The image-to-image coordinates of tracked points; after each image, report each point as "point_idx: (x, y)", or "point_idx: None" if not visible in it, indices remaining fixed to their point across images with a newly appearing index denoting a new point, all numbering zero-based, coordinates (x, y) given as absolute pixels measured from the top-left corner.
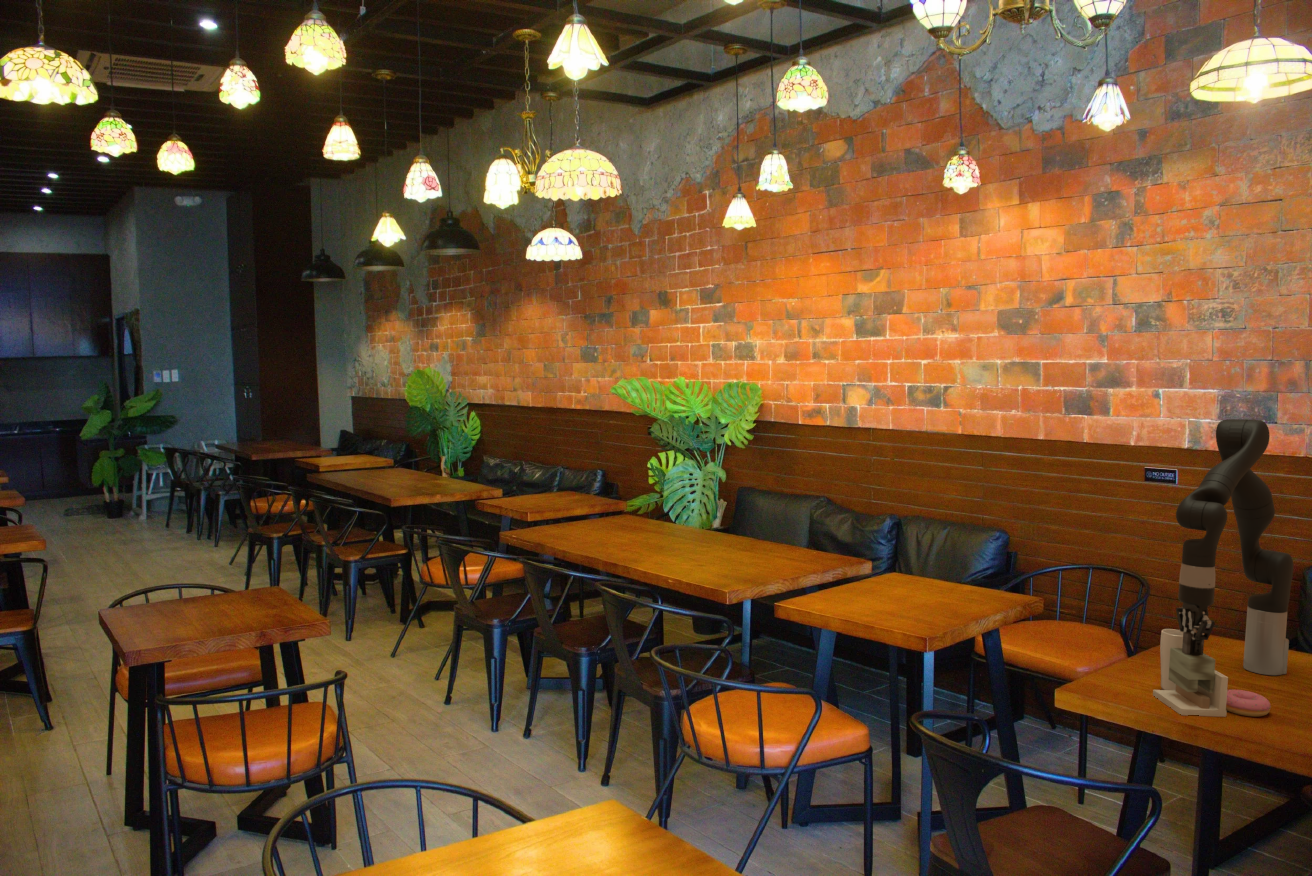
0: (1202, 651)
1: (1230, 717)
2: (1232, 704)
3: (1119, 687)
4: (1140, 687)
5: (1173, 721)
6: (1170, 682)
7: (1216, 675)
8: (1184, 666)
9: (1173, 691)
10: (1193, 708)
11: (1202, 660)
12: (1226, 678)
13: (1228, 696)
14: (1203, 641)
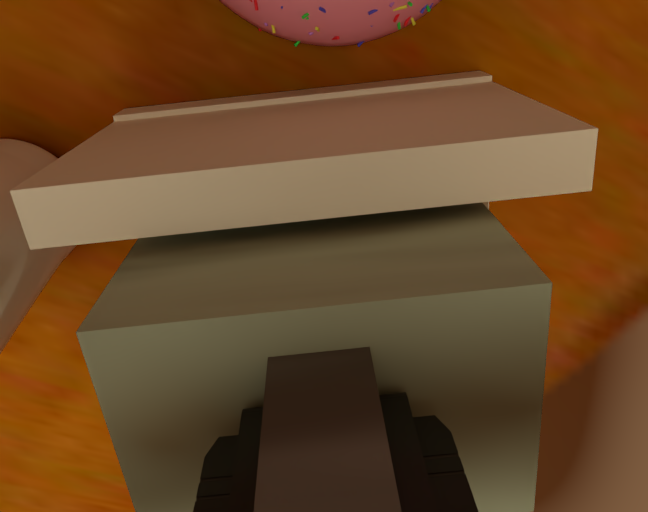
0: (373, 381)
1: (488, 46)
2: (434, 3)
3: (92, 447)
4: (49, 355)
5: (560, 371)
6: (63, 259)
7: (499, 196)
8: None
9: None
10: None
11: (537, 400)
12: (589, 140)
13: (373, 5)
14: (394, 484)
